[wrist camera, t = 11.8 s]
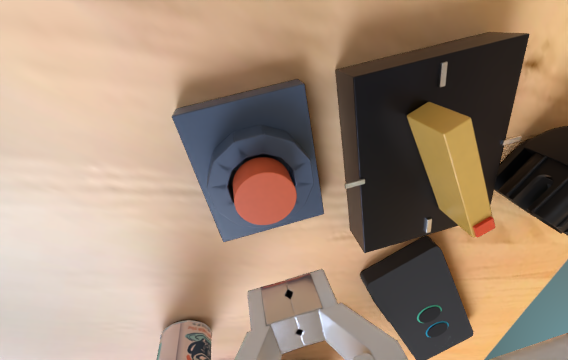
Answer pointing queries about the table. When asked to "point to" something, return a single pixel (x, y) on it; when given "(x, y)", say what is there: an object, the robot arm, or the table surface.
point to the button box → (251, 149)
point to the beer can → (185, 341)
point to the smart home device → (419, 298)
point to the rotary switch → (398, 135)
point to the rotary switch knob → (453, 166)
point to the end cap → (539, 178)
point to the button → (263, 191)
